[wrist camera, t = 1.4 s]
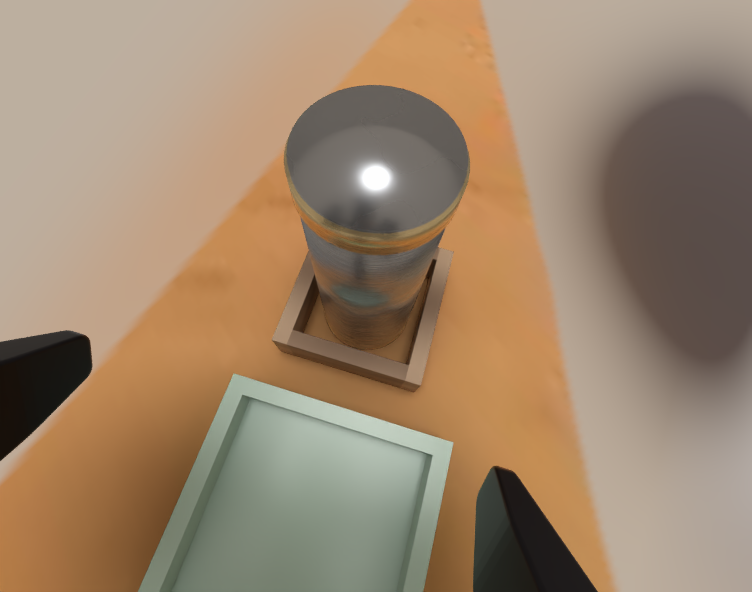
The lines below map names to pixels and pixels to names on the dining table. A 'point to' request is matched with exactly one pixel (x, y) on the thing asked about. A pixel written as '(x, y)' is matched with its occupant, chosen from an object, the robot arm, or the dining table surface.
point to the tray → (302, 501)
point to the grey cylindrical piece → (374, 202)
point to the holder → (352, 359)
